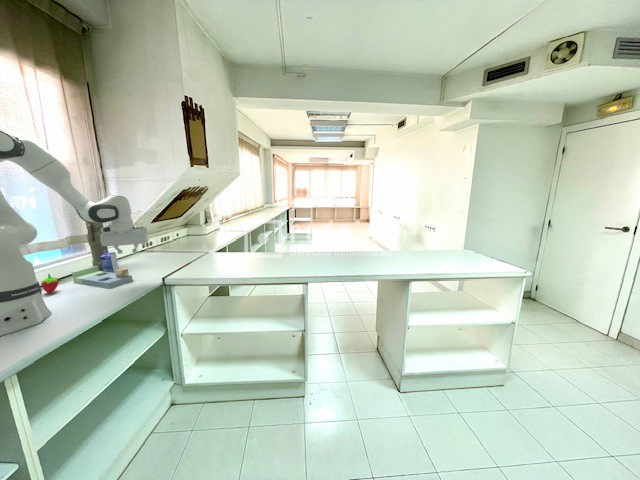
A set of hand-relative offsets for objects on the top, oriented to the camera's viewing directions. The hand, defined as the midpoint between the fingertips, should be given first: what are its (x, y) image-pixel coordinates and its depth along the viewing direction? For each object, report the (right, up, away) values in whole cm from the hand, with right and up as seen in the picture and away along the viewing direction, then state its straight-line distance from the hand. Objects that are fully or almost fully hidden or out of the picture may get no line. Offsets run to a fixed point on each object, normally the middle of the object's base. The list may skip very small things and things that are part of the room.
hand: (127, 252), depth 134 cm
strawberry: (-32, -20, -7) cm, 38 cm away
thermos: (-35, -13, +25) cm, 45 cm away
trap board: (-19, -16, +7) cm, 26 cm away
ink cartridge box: (-25, -14, +20) cm, 35 cm away
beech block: (-7, -13, +5) cm, 16 cm away
